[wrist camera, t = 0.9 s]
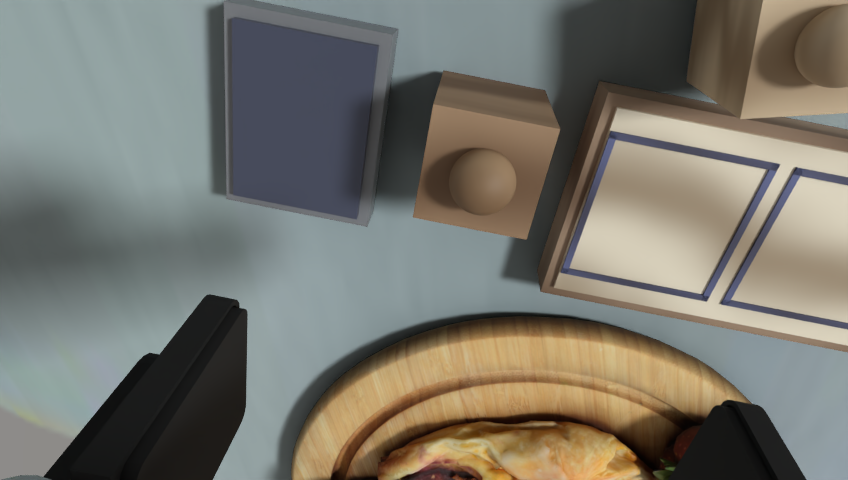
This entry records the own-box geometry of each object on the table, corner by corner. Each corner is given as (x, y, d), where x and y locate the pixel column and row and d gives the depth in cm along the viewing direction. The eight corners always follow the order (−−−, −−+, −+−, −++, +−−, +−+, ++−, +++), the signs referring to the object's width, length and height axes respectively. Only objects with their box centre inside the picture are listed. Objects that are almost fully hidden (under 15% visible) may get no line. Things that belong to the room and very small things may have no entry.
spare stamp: (698, -39, 21) (800, -28, 14) (823, -51, 21) (991, -46, 14) (682, 78, 23) (764, 136, 16) (795, 70, 23) (928, 127, 16)
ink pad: (239, -3, 23) (219, 2, 22) (398, 28, 23) (391, 36, 22) (239, 185, 28) (223, 202, 26) (373, 212, 28) (365, 230, 26)
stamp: (444, 67, 24) (428, 119, 17) (543, 87, 24) (567, 146, 17) (427, 161, 26) (407, 240, 19) (518, 179, 26) (529, 263, 19)
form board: (599, 80, 24) (610, 94, 22) (959, 151, 24) (1003, 171, 22) (537, 270, 29) (541, 295, 27) (835, 328, 29) (861, 358, 27)
